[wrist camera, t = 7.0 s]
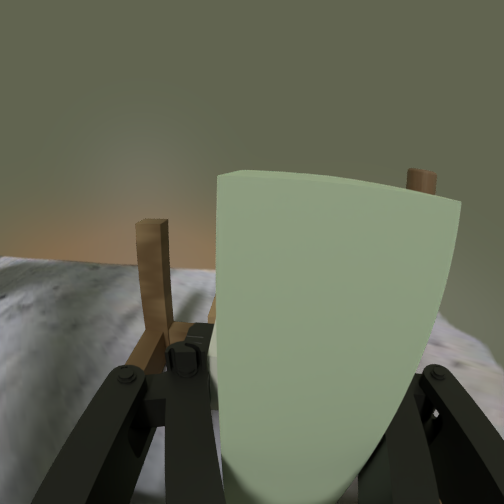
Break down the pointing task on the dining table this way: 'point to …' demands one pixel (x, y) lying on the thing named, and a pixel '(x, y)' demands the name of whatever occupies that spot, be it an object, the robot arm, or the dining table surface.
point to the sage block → (319, 324)
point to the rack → (155, 298)
